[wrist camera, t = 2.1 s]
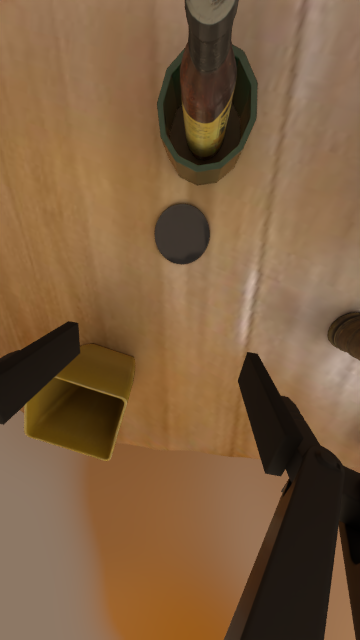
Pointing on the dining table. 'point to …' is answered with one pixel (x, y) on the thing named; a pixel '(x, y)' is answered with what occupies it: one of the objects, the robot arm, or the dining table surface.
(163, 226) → the coaster
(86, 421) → the flower pot
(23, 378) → the robot arm
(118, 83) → the dining table surface
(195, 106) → the sauce bottle
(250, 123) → the crock
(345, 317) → the container
